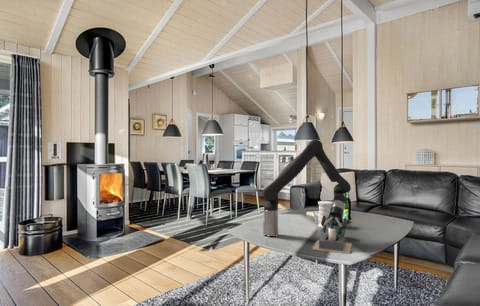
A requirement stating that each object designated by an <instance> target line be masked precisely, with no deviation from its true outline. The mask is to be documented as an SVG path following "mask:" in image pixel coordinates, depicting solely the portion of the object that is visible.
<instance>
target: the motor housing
mask: <svg viewBox="0 0 480 306" xmlns="http://www.w3.org/2000/svg"><path fill="white" fill-rule="evenodd" d="M352 247H353V243H347V242H346V236H344V237H340V236H336V241H332V240H329V236H328V234H322V235H321V237H320V238H319V239H317V240H316V242H315V243H314V245H313V246H312V247H311V249H312V250H313V251H320V252H321V251H323V252H329V253H340V254H347V255H348V254H349V255H351V251H352Z"/></svg>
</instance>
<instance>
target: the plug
mask: <svg viewBox="0 0 480 306" xmlns="http://www.w3.org/2000/svg"><path fill="white" fill-rule="evenodd" d="M327 233H328V234H327V235H328V236H329V240H332V241H336V229H335V228H334V225H333V221H332V220H331V225H330V228H328V229H327Z"/></svg>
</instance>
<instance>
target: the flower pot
mask: <svg viewBox="0 0 480 306" xmlns="http://www.w3.org/2000/svg"><path fill="white" fill-rule="evenodd" d="M343 224H344V223H341V225H342V226H343ZM328 228H330V225H329V226H327V228H326V230H328ZM334 228H335V229H336V236H340V237H345V234H346V231H347V228H346V229H342V233H341V234H340V235H339V234H338V230H339V225H334Z"/></svg>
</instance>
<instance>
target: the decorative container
mask: <svg viewBox="0 0 480 306" xmlns="http://www.w3.org/2000/svg"><path fill="white" fill-rule="evenodd" d="M332 203H333V201H327V200H322V201H321V200H319V201H317V204H318V222H319V223H317V227H318V226H319V227H318V228H320V227H321V228H320V229H323V226H322V225H321V221H322V218H323V216H325V217H328V216H329V213H330V209H331V205H332ZM327 220H328V219H327ZM327 220H326V221H327ZM326 221H325V222H326Z"/></svg>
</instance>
